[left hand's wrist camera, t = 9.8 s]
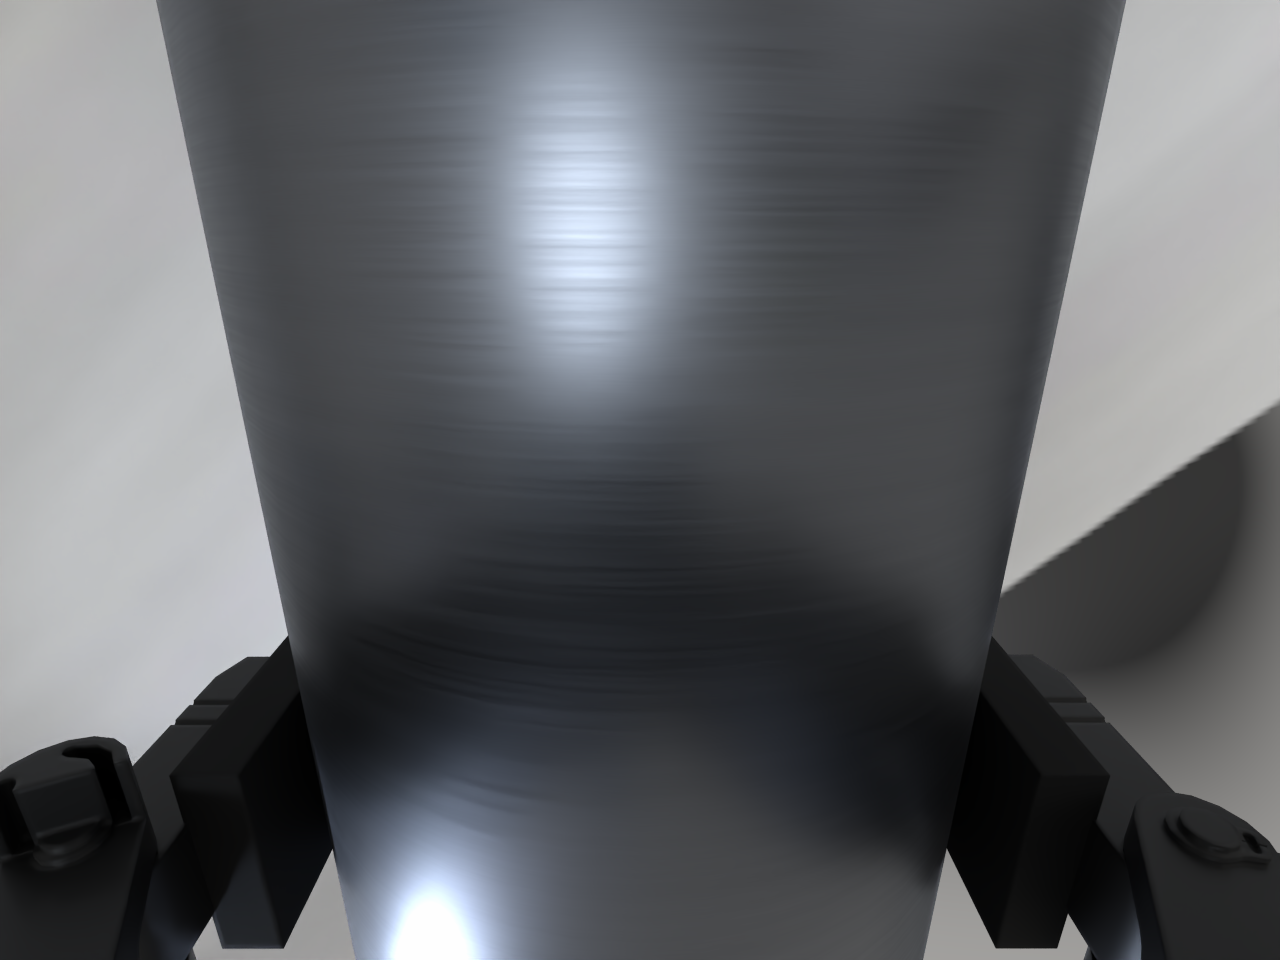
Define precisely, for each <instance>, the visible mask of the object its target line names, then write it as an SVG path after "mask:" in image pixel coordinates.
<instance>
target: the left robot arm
mask: <svg viewBox="0 0 1280 960" xmlns="http://www.w3.org/2000/svg"><path fill="white" fill-rule="evenodd" d="M1104 719H1105V718H1104V716H1103V715H1102V714H1101V713H1100V712H1099V711H1098V710H1097V709H1096V708H1095V707H1094V706H1093V705H1092V704H1091V703H1087V701H1086V697H1085V696H1084V695H1083V694H1082V693H1081V692H1080V691H1079V690H1078V689H1077V688H1076V687H1075V685H1074V684H1073V683H1072V682H1071V681H1070V680H1069V679H1068V678H1067V677H1066V676H1065V675H1064V674H1063V673H1061V672H1059V671H1058V670H1056V669H1055V668H1053V667H1051V666H1050V665H1048V664H1047V663H1045V662H1044V661H1042V660H1040V659H1039V658H1037V657H1036V656H1034V655H1008V654H1007V653H1006V652H1005V651H1004V650H1003V648H1002V647H1001V646H1000V645H999V644H998V643H997V641H996V640H995V639H994V638H993V637H992V636H991V641H990V645H989V650H988V655H987V660H986V664H985V669H984V674H983V678H982V683H981V688H980V693H979V697H978V702H977V707H976V712H975V716H974V721H973V726H972V730H971V735H970V740H969V745H968V749H967V754H966V759H965V764H964V768H963V773H962V778H961V782H960V787H959V792H958V797H957V801H956V806H955V811H954V816H953V820H952V825H951V830H950V834H949V839H948V844H947V849H948V852H949V854H950V856H951V858H952V860H953V862H954V864H955V866H956V868H957V870H958V872H959V874H960V876H961V878H962V880H963V882H964V884H965V886H966V888H967V890H968V892H969V895H970V897H971V899H972V901H973V903H974V905H975V907H976V909H977V911H978V913H979V915H980V917H981V919H982V921H983V923H984V925H985V927H986V929H987V931H988V933H989V935H990V937H991V939H992V942H993V943H994V946H995V948H1057V947H1058V944H1059V941H1060V937H1061V934H1062V931H1063V928H1064V924H1065V921H1066V918H1067V915H1068V914H1069V916H1070V917H1071V919H1072V920H1073V922H1074V924H1075V925H1076V927H1077V929H1078V930H1079V932H1080V933H1081V935H1082V937H1083V938H1084V940H1085V941H1086V943H1087V945H1088V948H1087V951H1086V954H1085V957H1084V960H1280V853H1277V852H1276V850H1275V849H1274V848H1273V846H1272V845H1271V843H1270V842H1269V841H1268V840H1267V839H1266V838H1265V837H1264V836H1262V835H1261V834H1260V833H1259V832H1258V831H1257V830H1255V829H1254V828H1253V827H1252V826H1251V825H1250V824H1248V823H1247V822H1246V821H1244V820H1242V819H1241V818H1239V817H1237V816H1235V815H1234V814H1232V813H1230V812H1229V811H1227V810H1225V809H1223V808H1222V807H1220V806H1218V805H1215V804H1212V803H1210V802H1207V801H1204V800H1202V799H1199V798H1197V797H1194V796H1191V795H1185V794H1179V793H1175V792H1174V791H1173V790H1172V789H1171V788H1170V787H1169V786H1168V785H1167V784H1166V783H1165V781H1164V780H1163V779H1162V778H1161V777H1160V776H1159V775H1158V774H1157V773H1156V772H1155V771H1154V770H1153V769H1152V768H1151V767H1150V765H1148V763H1147V762H1146V761H1145V760H1144V759H1143V758H1142V757H1141V756H1140V755H1139V754H1138V753H1137V752H1136V751H1135V749H1134V748H1133V747H1132V746H1131V745H1130V744H1129V743H1128V742H1127V741H1126V740H1125V739H1124V738H1123V737H1122V736H1121V735H1120V733H1119V732H1118V731H1117V730H1116V729H1115V728H1114V727H1113V726H1112V725H1111V724H1110V723H1106V722H1105V720H1104ZM332 849H333V848H332V843H331V838H330V833H329V828H328V824H327V819H326V814H325V809H324V804H323V800H322V795H321V790H320V785H319V780H318V776H317V771H316V766H315V761H314V756H313V751H312V747H311V742H310V737H309V732H308V727H307V723H306V718H305V713H304V708H303V703H302V699H301V694H300V689H299V684H298V679H297V675H296V670H295V665H294V660H293V655H292V651H291V646H290V641H289V636H287V637H286V639H285V640H284V641H283V642H282V643H281V644H280V646H279V647H278V648H277V649H276V650H275V652H274V653H273V654H272V655H271V656H270V657H246V658H245V659H243V660H242V661H240V662H239V663H237V664H235V665H234V666H232V667H231V668H229V669H228V670H226V671H224V672H223V673H221V674H220V675H218V676H216V677H215V678H214V679H213V680H212V682H211V683H210V684H209V685H208V686H207V687H206V688H205V689H204V690H203V691H202V692H201V693H200V694H199V696H198V697H197V698H196V699H195V700H194V704H193V705H189V706H188V707H187V708H186V709H185V711H184V712H183V713H182V714H181V715H180V716H179V717H178V718H177V719H176V723H175V725H171V726H170V727H169V728H168V729H167V730H166V731H165V732H164V733H163V734H162V735H161V736H160V737H159V738H158V740H157V741H156V742H155V743H154V744H153V745H152V746H151V747H150V748H149V749H148V750H147V751H146V752H145V753H144V755H143V756H142V757H141V758H140V759H139V760H138V761H137V762H136V763H135V764H134V765H133V766H132V764H131V761H130V758H129V755H128V752H127V749H126V746H124V745H123V744H121V743H120V742H119V741H117V740H116V739H114V738H105V737H96V736H93V737H87V738H80V739H74V740H68V741H65V742H62V743H59V744H56V745H53V746H50V747H47V748H44V749H41V750H38V751H36V752H35V753H33V754H31V755H29V756H27V757H25V758H23V759H21V760H19V761H17V762H15V763H13V764H11V765H10V766H8V767H7V768H6V769H4V770H3V771H2V772H0V960H196V957H195V954H194V951H193V946H194V944H195V943H196V941H197V940H198V938H199V936H200V935H201V933H202V931H203V930H204V928H205V927H206V925H207V923H208V922H209V920H210V919H211V917H213V920H214V923H215V926H216V930H217V933H218V936H219V939H220V943H221V946H222V949H284V947H285V945H286V943H287V941H288V939H289V937H290V935H291V932H292V930H293V928H294V926H295V924H296V922H297V920H298V918H299V916H300V914H301V912H302V910H303V908H304V906H305V904H306V902H307V900H308V898H309V896H310V894H311V892H312V890H313V888H314V886H315V884H316V881H317V879H318V877H319V875H320V873H321V871H322V869H323V867H324V865H325V863H326V861H327V859H328V857H329V855H330V853H331V851H332Z"/></svg>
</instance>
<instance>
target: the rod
mask: <svg viewBox="0 0 1280 960" xmlns="http://www.w3.org/2000/svg"><path fill="white" fill-rule="evenodd" d="M156 2H157V7H158V11H159V16H160V21H161V26H162V31H163V35H164V40H165V45H166V50H167V55H168V59H169V64H170V69H171V74H172V79H173V84H174V88H175V93H176V98H177V103H178V108H179V112H180V117H181V122H182V127H183V132H184V136H185V141H186V146H187V151H188V156H189V160H190V165H191V170H192V175H193V180H194V184H195V189H196V194H197V199H198V204H199V208H200V213H201V218H202V223H203V228H204V232H205V237H206V242H207V247H208V252H209V257H210V261H211V266H212V271H213V276H214V281H215V285H216V290H217V295H218V300H219V305H220V309H221V314H222V319H223V324H224V329H225V333H226V338H227V343H228V348H229V353H230V357H231V362H232V367H233V372H234V377H235V381H236V386H237V391H238V396H239V401H240V405H241V410H242V415H243V420H244V425H245V430H246V434H247V439H248V444H249V449H250V454H251V458H252V463H253V468H254V473H255V478H256V482H257V487H258V492H259V497H260V502H261V506H262V511H263V516H264V521H265V526H266V530H267V535H268V540H269V545H270V550H271V554H272V559H273V564H274V569H275V574H276V578H277V583H278V588H279V593H280V598H281V603H282V607H283V612H284V617H285V622H286V627H287V631H288V636H289V641H290V646H291V651H292V655H293V660H294V665H295V670H296V675H297V679H298V684H299V689H300V694H301V699H302V703H303V708H304V713H305V718H306V723H307V727H308V732H309V737H310V742H311V747H312V751H313V756H314V761H315V766H316V771H317V776H318V780H319V785H320V790H321V795H322V800H323V804H324V809H325V814H326V819H327V824H328V828H329V833H330V838H331V843H332V848H333V852H334V857H335V862H336V867H337V872H338V876H339V881H340V886H341V891H342V896H343V900H344V905H345V910H346V915H347V920H348V924H349V929H350V934H351V939H352V944H353V949H354V953H355V958H356V960H923V957H924V953H925V948H926V943H927V938H928V934H929V929H930V924H931V920H932V915H933V910H934V905H935V901H936V896H937V891H938V886H939V882H940V877H941V872H942V867H943V863H944V858H945V853H946V849H947V844H948V839H949V834H950V830H951V825H952V820H953V816H954V811H955V806H956V801H957V797H958V792H959V787H960V782H961V778H962V773H963V768H964V764H965V759H966V754H967V749H968V745H969V740H970V735H971V730H972V726H973V721H974V716H975V712H976V707H977V702H978V697H979V693H980V688H981V683H982V678H983V674H984V669H985V664H986V660H987V655H988V650H989V645H990V641H991V636H992V631H993V626H994V622H995V617H996V612H997V608H998V603H999V598H1000V593H1001V589H1002V584H1003V579H1004V575H1005V570H1006V565H1007V560H1008V556H1009V551H1010V546H1011V541H1012V537H1013V532H1014V527H1015V523H1016V518H1017V513H1018V508H1019V504H1020V499H1021V494H1022V489H1023V485H1024V480H1025V475H1026V471H1027V466H1028V461H1029V456H1030V452H1031V447H1032V442H1033V437H1034V433H1035V428H1036V423H1037V419H1038V414H1039V409H1040V404H1041V400H1042V395H1043V390H1044V386H1045V381H1046V376H1047V371H1048V367H1049V362H1050V357H1051V352H1052V348H1053V343H1054V338H1055V334H1056V329H1057V324H1058V319H1059V315H1060V310H1061V305H1062V300H1063V296H1064V291H1065V286H1066V282H1067V277H1068V272H1069V267H1070V263H1071V258H1072V253H1073V248H1074V244H1075V239H1076V234H1077V230H1078V225H1079V220H1080V215H1081V211H1082V206H1083V201H1084V196H1085V192H1086V187H1087V182H1088V178H1089V173H1090V168H1091V163H1092V159H1093V154H1094V149H1095V144H1096V140H1097V135H1098V130H1099V126H1100V121H1101V116H1102V111H1103V107H1104V102H1105V97H1106V93H1107V88H1108V83H1109V78H1110V74H1111V69H1112V64H1113V59H1114V55H1115V50H1116V45H1117V41H1118V36H1119V31H1120V26H1121V22H1122V17H1123V12H1124V7H1125V3H1126V0H156Z"/></svg>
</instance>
